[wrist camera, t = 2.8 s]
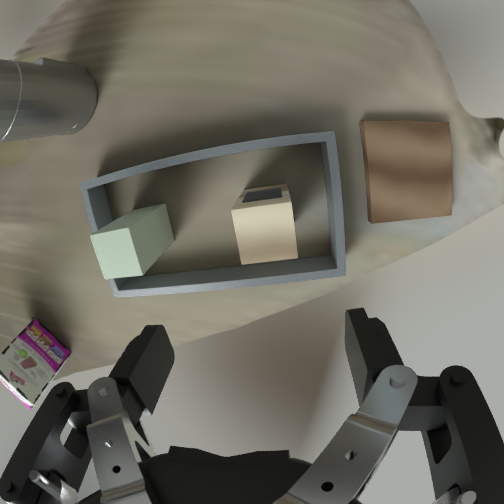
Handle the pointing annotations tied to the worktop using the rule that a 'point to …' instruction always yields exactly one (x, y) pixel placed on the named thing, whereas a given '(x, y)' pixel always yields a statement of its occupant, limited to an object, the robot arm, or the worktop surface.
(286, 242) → the birch block
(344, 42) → the worktop surface
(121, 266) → the sage block
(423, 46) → the worktop surface
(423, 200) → the walnut board
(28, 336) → the candy bar box
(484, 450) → the robot arm
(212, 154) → the grey bin
